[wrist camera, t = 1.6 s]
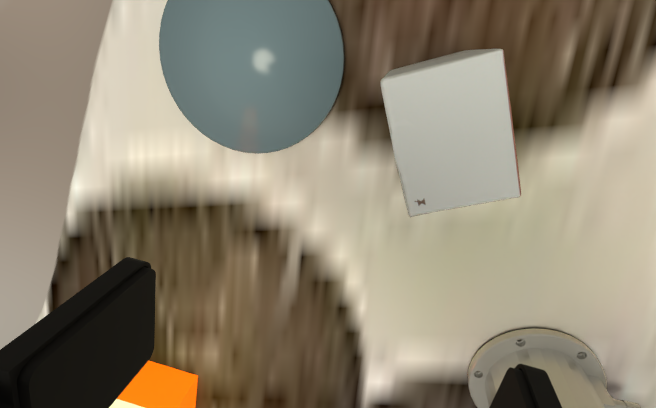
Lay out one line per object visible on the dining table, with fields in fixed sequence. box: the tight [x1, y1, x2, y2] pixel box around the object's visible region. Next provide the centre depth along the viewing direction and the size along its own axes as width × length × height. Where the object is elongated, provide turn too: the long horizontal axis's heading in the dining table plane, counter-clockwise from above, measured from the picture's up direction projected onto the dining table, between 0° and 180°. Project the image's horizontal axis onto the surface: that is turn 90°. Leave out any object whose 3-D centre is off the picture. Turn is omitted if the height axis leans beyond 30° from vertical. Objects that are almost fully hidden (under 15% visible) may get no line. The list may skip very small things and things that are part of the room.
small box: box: [381, 49, 521, 217], centre depth 27 cm, size 8×6×13 cm
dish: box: [159, 0, 345, 153], centre depth 34 cm, size 16×16×1 cm
